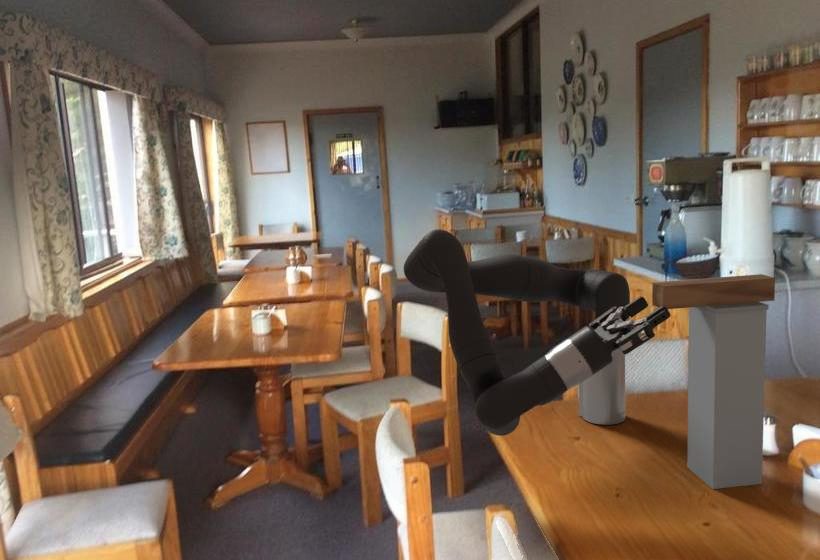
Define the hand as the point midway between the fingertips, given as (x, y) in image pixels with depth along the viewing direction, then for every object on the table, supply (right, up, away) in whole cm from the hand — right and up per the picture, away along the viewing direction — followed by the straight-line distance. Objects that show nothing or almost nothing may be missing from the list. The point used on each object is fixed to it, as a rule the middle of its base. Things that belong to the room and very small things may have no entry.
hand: (655, 305), depth 123 cm
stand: (+14, -31, +7) cm, 35 cm away
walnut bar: (+10, 0, +1) cm, 10 cm away
